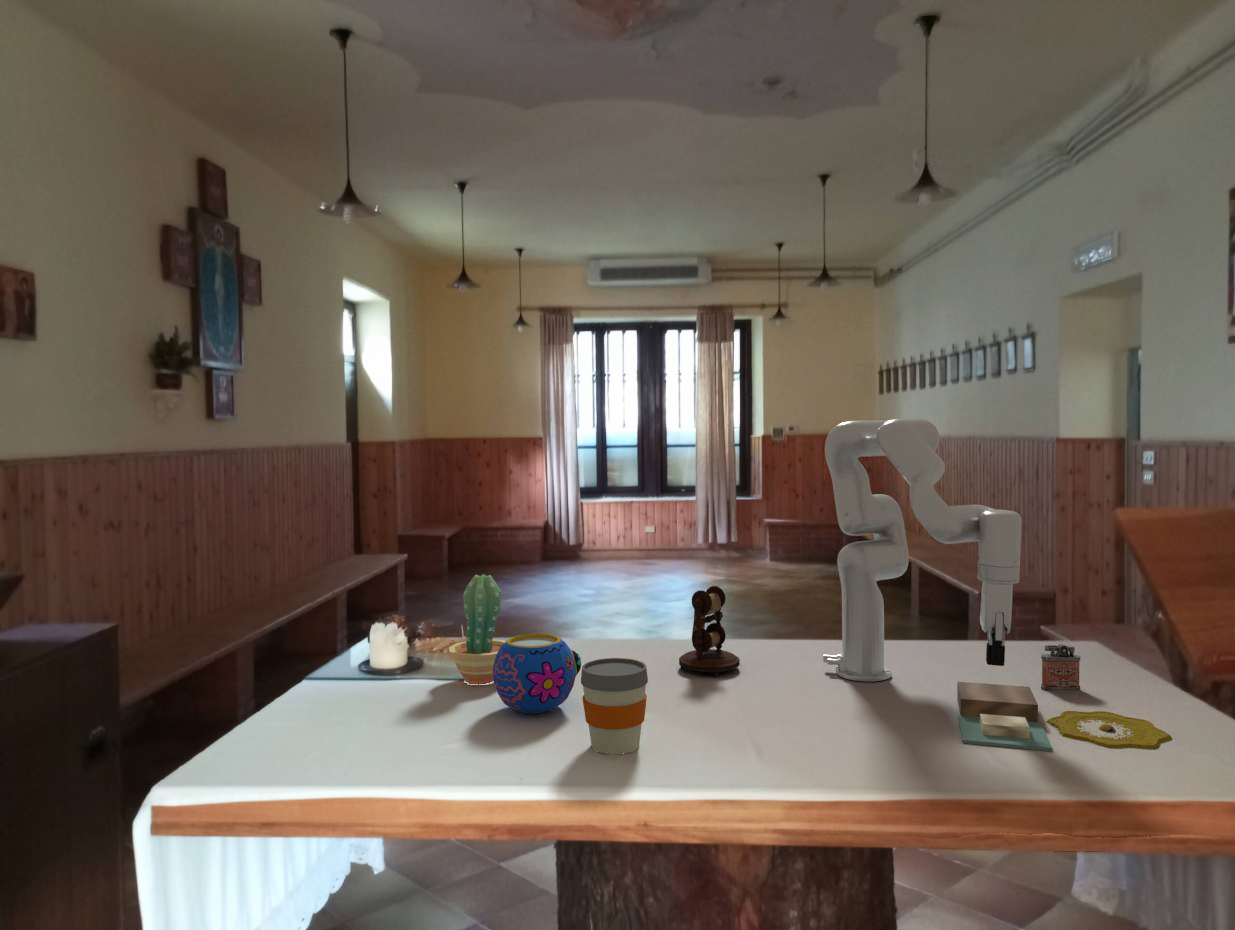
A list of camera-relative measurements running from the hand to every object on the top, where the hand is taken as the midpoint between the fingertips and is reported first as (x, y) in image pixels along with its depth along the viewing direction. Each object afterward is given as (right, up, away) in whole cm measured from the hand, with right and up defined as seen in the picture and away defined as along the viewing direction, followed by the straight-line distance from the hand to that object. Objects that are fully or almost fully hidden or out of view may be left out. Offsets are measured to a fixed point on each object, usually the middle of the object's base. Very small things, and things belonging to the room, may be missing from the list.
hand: (995, 663), depth 170 cm
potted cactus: (-107, -12, +34) cm, 113 cm away
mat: (-2, -12, -7) cm, 14 cm away
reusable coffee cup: (-75, -13, -10) cm, 77 cm away
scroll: (-52, -11, +40) cm, 67 cm away
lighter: (+23, -10, +20) cm, 32 cm away
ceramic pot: (-92, -13, +12) cm, 94 cm away
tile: (-1, -9, -7) cm, 12 cm away
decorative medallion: (+19, -12, -6) cm, 23 cm away
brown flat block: (+3, -11, +5) cm, 13 cm away
